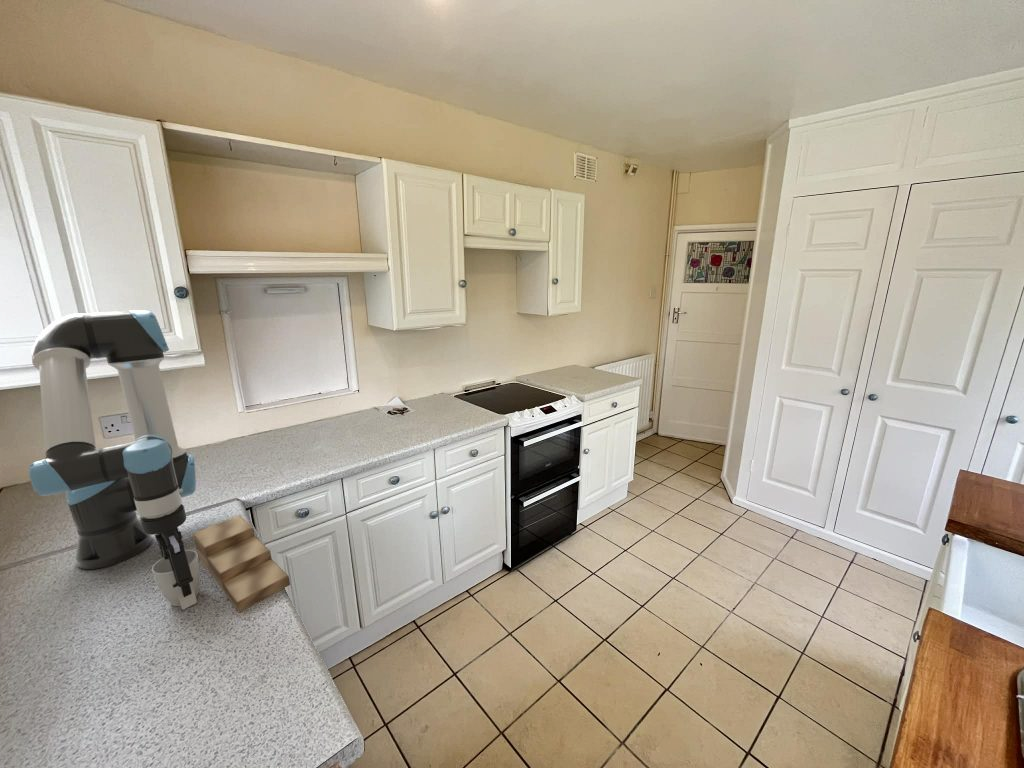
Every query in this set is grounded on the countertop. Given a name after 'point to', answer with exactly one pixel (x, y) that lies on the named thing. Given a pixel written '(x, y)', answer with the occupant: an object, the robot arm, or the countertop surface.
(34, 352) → the robot arm
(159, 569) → the cup
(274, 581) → the riser
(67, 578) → the countertop surface
